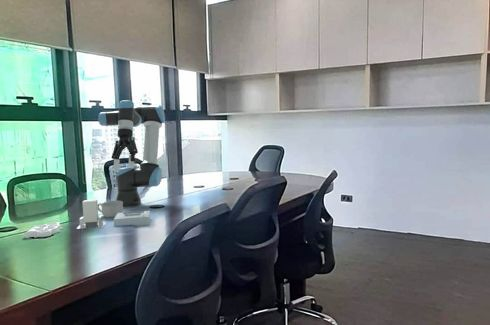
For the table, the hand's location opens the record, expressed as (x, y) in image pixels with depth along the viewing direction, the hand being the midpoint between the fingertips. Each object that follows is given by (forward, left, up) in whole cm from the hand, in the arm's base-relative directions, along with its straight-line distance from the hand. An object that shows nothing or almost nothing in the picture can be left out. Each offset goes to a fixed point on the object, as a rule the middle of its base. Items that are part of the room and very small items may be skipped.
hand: (123, 170), depth 202 cm
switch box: (+9, +4, -25) cm, 27 cm away
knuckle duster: (+17, -34, -26) cm, 46 cm away
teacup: (-8, -9, -26) cm, 28 cm away
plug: (+11, -15, -25) cm, 31 cm away
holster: (+11, -15, -25) cm, 32 cm away
